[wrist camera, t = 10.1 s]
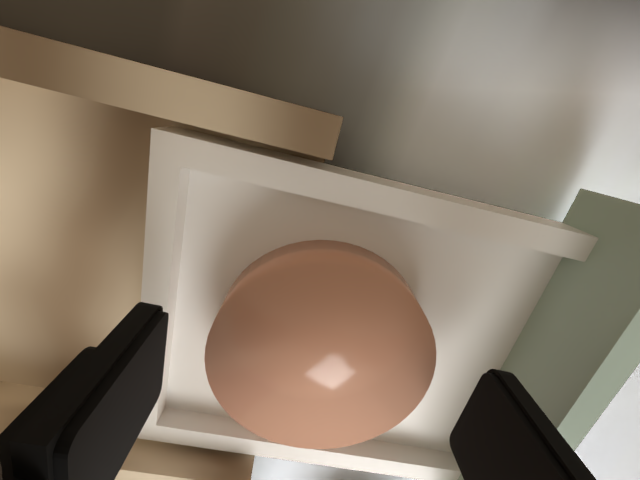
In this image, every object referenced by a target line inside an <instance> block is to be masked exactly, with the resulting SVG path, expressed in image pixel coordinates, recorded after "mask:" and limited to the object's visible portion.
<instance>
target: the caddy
mask: <svg viewBox="0 0 640 480" xmlns="http://www.w3.org/2000/svg"><path fill="white" fill-rule="evenodd" d="M342 121H343V117H341V116H337V115H334V114H330V113H326V112H322V111H319V110H315V109H311V108H307V107H304V106H300V105H296V104H292V103H289V102H285V101H281V100H277V99H274V98H270V97H266V96H262V95H259V94H255V93H251V92H247V91H243V90H240V89H236V88H232V87H228V86H225V85H221V84H217V83H213V82H210V81H206V80H202V79H198V78H195V77H191V76H187V75H183V74H180V73H176V72H172V71H168V70H165V69H161V68H157V67H153V66H149V65H146V64H142V63H138V62H134V61H131V60H127V59H123V58H119V57H116V56H112V55H108V54H104V53H101V52H97V51H93V50H89V49H86V48H82V47H78V46H74V45H71V44H67V43H63V42H59V41H55V40H52V39H48V38H44V37H40V36H37V35H33V34H29V33H25V32H22V31H18V30H14V29H10V28H7V27H3V26H0V434H1V433H2V432H3V431H4V430H5V429H6V428H7V427H8V426H9V424H10V423H11V422H12V421H13V420H14V419H15V418H16V417H17V416H18V415H19V414H20V413H21V412H22V411H23V410H24V409H25V408H26V407H27V406H28V405H29V404H30V403H31V402H32V401H33V400H34V399H35V398H36V397H37V396H38V395H39V394H40V393H41V392H42V391H43V390H44V389H45V388H46V387H47V386H48V385H49V384H50V383H51V382H52V381H53V380H54V379H55V378H56V377H57V375H58V374H59V373H60V372H61V371H62V370H63V369H64V368H65V367H66V366H67V365H68V364H69V363H70V362H71V361H72V360H73V359H74V358H75V357H76V356H77V355H78V354H79V353H80V352H81V351H82V350H84V349H85V348H87V347H89V346H91V347H97V346H98V345H99V344H100V343H101V342H102V341H103V340H104V339H105V338H106V337H107V335H108V334H109V333H110V332H111V331H112V330H113V329H114V328H115V327H116V326H117V325H118V324H119V323H120V321H121V320H122V319H123V318H124V317H125V316H126V315H127V314H128V313H129V312H130V311H131V310H132V309H133V308H134V306H135V305H136V304H137V303H139V302H141V289H142V272H143V256H144V239H145V223H146V206H147V189H148V173H149V156H150V140H151V128H156V127H169V126H176V127H180V128H184V129H188V130H192V131H196V132H200V133H204V134H208V135H212V136H216V137H220V138H224V139H228V140H233V141H237V142H241V143H245V144H249V145H253V146H257V147H261V148H265V149H269V150H273V151H277V152H281V153H285V154H289V155H293V156H297V157H301V158H305V159H309V160H313V161H317V162H321V163H324V161H325V159H328V160H333V156H334V152H335V148H336V144H337V140H338V137H339V133H340V129H341V125H342ZM254 456H255V455H248V454H241V453H235V452H228V451H221V450H214V449H207V448H200V447H194V446H187V445H180V444H173V443H166V442H160V441H153V440H146V439H139V438H137V439H136V441H135V443H134V445H133V446H132V448H131V450H130V452H129V454H128V456H127V458H126V459H125V461H124V463H123V465H122V467H121V469H120V470H119V472H118V474H117V476H116V478H115V480H251V474H252V468H253V462H254Z"/></svg>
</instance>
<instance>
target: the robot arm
mask: <svg viewBox="0 0 640 480" xmlns="http://www.w3.org/2000/svg"><path fill="white" fill-rule="evenodd" d="M168 319H169V314H168V313H167V312H163V307H162V306H160V305H155V304H149V303H144V302H139V303H137V304H136V305H135V306H134V308H133V309H132V310H131V311H130V312H129V313H128V314H127V315H126V316H125V317H124V318H123V319H122V320H121V321H120V323H119V324H118V325H117V326H116V327H115V328H114V329H113V330H112V331H111V332H110V333H109V334H108V335H107V337H106V338H105V339H104V340H103V341H102V342H101V343H100V344H99V345H98V346H97V347H91V346H89V347H87V348H85V349H84V350H82V351H81V352H80V353H79V354H78V355H77V356H76V357H75V358H74V359H73V360H72V361H71V362H70V363H69V364H68V365H67V366H66V367H65V368H64V369H63V370H62V371H61V372H60V373H59V374H58V375H57V377H56V378H55V379H54V380H53V381H52V382H51V383H50V384H49V385H48V386H47V387H46V388H45V389H44V390H43V391H42V392H41V393H40V394H39V395H38V396H37V397H36V398H35V399H34V400H33V401H32V402H31V403H30V404H29V405H28V406H27V407H26V408H25V409H24V410H23V411H22V412H21V413H20V414H19V415H18V416H17V417H16V418H15V419H14V420H13V421H12V422H11V423H10V424H9V426H8V427H7V428H6V429H5V430H4V431H3V432H2V433H1V434H0V480H115V478H116V476H117V474H118V472H119V470H120V469H121V467H122V465H123V463H124V461H125V459H126V458H127V456H128V454H129V452H130V450H131V448H132V446H133V445H134V443H135V441H136V439H137V437H138V435H139V434H140V432H141V430H142V428H143V426H144V424H145V423H146V421H147V419H148V417H149V415H150V413H151V411H152V410H153V408H154V406H155V404H156V402H157V400H158V398H159V396H160V393H161V389H162V381H163V371H164V360H165V350H166V340H167V329H168ZM449 442H450V447H451V450H452V452H453V455H454V457H455V460H456V462H457V464H458V467H459V469H460V472H461V474H462V476H463V479H464V480H596V479H595V477H594V476H593V475H592V474H591V472H590V471H589V470H588V468H587V467H586V466H585V465H584V463H583V462H582V461H581V459H580V458H579V457H578V456H577V454H576V453H575V452H574V450H573V449H572V448H571V447H570V445H569V444H568V443H567V442H566V440H565V439H564V438H563V436H562V435H561V434H560V433H559V431H558V430H557V429H556V427H555V426H554V425H553V424H552V422H551V421H550V420H549V418H548V417H547V416H546V415H545V413H544V412H543V411H542V409H541V408H540V407H539V406H538V404H537V403H536V402H535V401H534V399H533V398H532V397H531V395H530V394H529V393H528V392H527V390H526V389H525V388H524V386H523V385H522V384H521V383H520V381H519V380H518V379H517V377H516V376H515V375H514V374H513V373H511V372H507V371H502V370H497V369H490V370H488V371H487V373H484V374H483V375H482V376H481V378H480V380H479V381H478V383H477V385H476V387H475V389H474V391H473V393H472V395H471V396H470V398H469V400H468V402H467V404H466V406H465V408H464V410H463V411H462V413H461V415H460V417H459V419H458V421H457V423H456V424H455V426H454V428H453V430H452V432H451V434H450V439H449Z"/></svg>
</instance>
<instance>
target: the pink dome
mask: <svg viewBox="0 0 640 480" xmlns="http://www.w3.org/2000/svg"><path fill="white" fill-rule="evenodd" d="M204 361H205V371H206V375H207V379H208V382H209V385H210V387H211V390H212V392H213V394H214V396H215V397H216V399H217V401H218V402H219V404H220V405H221V406H222V407H223V409H224V410H225V411H226V412H227V413H228V414H229V415H230V416H231V417H232V418H233V419H234V420H235V421H236V422H237V423H239V424H240V425H242V426H243V427H244V428H246V429H247V430H249V431H251V432H252V433H254V434H256V435H258V436H260V437H262V438H265V439H267V440H269V441H272V442H275V443H279V444H282V445H286V446H291V447H296V448H305V449H331V448H340V447H346V446H351V445H354V444H358V443H362V442H365V441H367V440H370V439H372V438H375V437H377V436H379V435H381V434H383V433H385V432H387V431H388V430H390V429H392V428H393V427H395V426H396V425H398V424H399V423H400V422H401V421H403V420H404V419H405V418H406V417H407V416H408V415H409V414H410V413H411V412H412V411H413V410H414V409H415V408H416V407H417V406H418V404H419V403H420V402H421V400H422V399H423V398H424V396H425V394H426V392H427V390H428V389H429V386H430V384H431V381H432V379H433V376H434V371H435V367H436V343H435V338H434V335H433V331H432V328H431V326H430V324H429V322H428V319H427V317H426V315H425V314H424V312H423V310H422V308H421V306H420V305H419V303H418V301H417V299H416V298H415V296H414V294H413V292H412V290H411V289H410V287H409V285H408V284H407V282H406V281H405V279H404V278H403V276H402V275H401V274H400V273H399V272H398V271H397V270H396V269H395V268H394V267H393V266H392V265H391V264H390V263H388V262H387V261H386V260H385V259H383V258H382V257H380V256H378V255H377V254H375V253H373V252H371V251H369V250H367V249H365V248H362V247H360V246H356V245H353V244H350V243H346V242H340V241H333V240H310V241H302V242H297V243H292V244H288V245H285V246H282V247H280V248H277V249H275V250H273V251H271V252H268V253H266V254H264V255H263V256H261V257H260V258H258V259H257V260H255V261H254V262H252V263H251V264H250V265H249V266H248V267H247V268H246V269H245V270H244V271H243V272H242V273H241V274H240V275H239V276H238V277H237V279H236V280H235V281H234V283H233V284H232V286H231V288H230V289H229V291H228V293H227V295H226V297H225V299H224V301H223V303H222V305H221V308H220V310H219V312H218V314H217V316H216V318H215V320H214V322H213V324H212V327H211V329H210V332H209V334H208V338H207V342H206V346H205V358H204Z"/></svg>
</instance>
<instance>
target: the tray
mask: <svg viewBox="0 0 640 480" xmlns="http://www.w3.org/2000/svg"><path fill="white" fill-rule="evenodd" d="M310 240H333V241H340V242H346V243H350V244H353V245H356V246H360V247H362V248H365V249H367V250H369V251H371V252H373V253H375V254H377V255H378V256H380V257H382V258H383V259H385V260H386V261H387V262H388V263H390V264H391V265H392V266H393V267H394V268H395V269H396V270H397V271H398V272H399V273H400V274H401V275H402V276H403V278H404V279H405V281H406V282H407V284H408V285H409V287H410V289H411V290H412V292H413V294H414V296H415V298H416V299H417V301H418V303H419V305H420V306H421V308H422V310H423V312H424V314H425V315H426V317H427V319H428V322H429V324H430V326H431V328H432V331H433V335H434V338H435V343H436V367H435V371H434V376H433V379H432V381H431V384H430V386H429V389H428V390H427V392H426V394H425V396H424V398H423V399H422V400H421V402H420V403H419V404H418V406H417V407H416V408H415V409H414V410H413V411H412V412H411V413H410V414H409V415H408V416H407V417H406V418H405V419H404V420H403V421H401V422H400V423H399V424H398V425H396V426H395V427H393V428H392V429H390V430H388V431H387V432H385V433H383V434H381V435H379V436H377V437H375V438H372V439H370V440H367V441H365V442H362V443H358V444H354V445H351V446H346V447H340V448H331V449H305V448H296V447H291V446H286V445H282V444H279V443H275V442H272V441H269V440H267V439H265V438H262V437H260V436H258V435H256V434H254V433H252V432H251V431H249V430H247V429H246V428H244V427H243V426H242V425H240V424H239V423H237V422H236V421H235V420H234V419H233V418H232V417H231V416H230V415H229V414H228V413H227V412H226V411H225V410H224V409H223V407H222V406H221V405H220V404H219V402H218V401H217V399H216V397H215V396H214V394H213V392H212V390H211V387H210V385H209V382H208V379H207V375H206V371H205V361H204V358H205V346H206V342H207V338H208V334H209V332H210V329H211V327H212V324H213V322H214V320H215V318H216V316H217V314H218V312H219V310H220V308H221V305H222V303H223V301H224V299H225V297H226V295H227V293H228V291H229V289H230V288H231V286H232V284H233V283H234V281H235V280H236V279H237V277H238V276H239V275H240V274H241V273H242V272H243V271H244V270H245V269H246V268H247V267H248V266H249V265H250V264H251V263H252V262H254V261H255V260H257V259H258V258H260V257H261V256H263V255H264V254H266V253H268V252H271V251H273V250H275V249H277V248H280V247H282V246H285V245H288V244H292V243H297V242H302V241H310ZM141 302H144V303H149V304H155V305H160V306H162V307H163V312H167V313H168V314H169V319H168V329H167V340H166V350H165V360H164V371H163V381H162V389H161V393H160V396H159V398H158V400H157V402H156V404H155V406H154V408H153V410H152V411H151V413H150V415H149V417H148V419H147V421H146V423H145V424H144V426H143V428H142V430H141V432H140V434H139V435H138V437H137V438H139V439H146V440H153V441H160V442H166V443H173V444H180V445H187V446H194V447H200V448H207V449H214V450H221V451H228V452H235V453H241V454H248V455H255V456H262V457H269V458H276V459H282V460H289V461H296V462H303V463H310V464H316V465H323V466H330V467H337V468H344V469H351V470H357V471H364V472H371V473H378V474H385V475H391V476H398V477H405V478H412V479H419V480H464V479H463V476H462V474H461V472H460V469H459V467H458V464H457V462H456V460H455V457H454V455H453V452H452V450H451V447H450V442H449V439H450V434H451V432H452V430H453V428H454V426H455V424H456V423H457V421H458V419H459V417H460V415H461V413H462V411H463V410H464V408H465V406H466V404H467V402H468V400H469V398H470V396H471V395H472V393H473V391H474V389H475V387H476V385H477V383H478V381H479V380H480V378H481V376H482V375H483V374H484V373H487V371H488V370H490V369H497V370H502V371H507V372H511V373H513V374H514V375H515V376H516V377H517V379H518V380H519V381H520V383H521V384H522V385H523V386H524V388H525V389H526V390H527V392H528V393H529V394H530V395H531V397H532V398H533V399H534V401H535V402H536V403H537V404H538V406H539V407H540V408H541V409H542V411H543V412H544V413H545V415H546V416H547V417H548V418H549V420H550V421H551V422H552V424H553V425H554V426H555V427H556V429H557V430H558V431H559V433H560V434H561V435H562V436H563V438H564V439H565V440H566V442H567V443H568V444H569V445H570V447H571V448H572V449H573V450H574V451H575V450H576V448H577V447H578V445H579V444H580V443H581V441H582V440H583V439H584V437H585V436H586V435H587V433H588V432H589V431H590V429H591V428H592V427H593V425H594V424H595V422H596V421H597V420H598V418H599V417H600V416H601V414H602V413H603V412H604V410H605V409H606V408H607V406H608V405H609V404H610V402H611V401H612V399H613V398H614V397H615V395H616V394H617V393H618V391H619V390H620V389H621V387H622V386H623V385H624V383H625V382H626V381H627V379H628V378H629V377H630V375H631V374H632V372H633V371H634V370H635V368H636V367H637V366H638V364H639V363H640V204H637V203H633V202H630V201H626V200H622V199H619V198H615V197H611V196H608V195H604V194H600V193H596V192H592V191H589V190H585V189H580V190H579V192H578V194H577V196H576V198H575V200H574V202H573V204H572V205H571V207H570V209H569V211H568V213H567V215H566V217H565V219H564V220H563V222H558V221H554V220H550V219H546V218H542V217H538V216H534V215H530V214H526V213H522V212H518V211H514V210H510V209H506V208H502V207H498V206H494V205H490V204H486V203H482V202H478V201H474V200H470V199H466V198H462V197H458V196H454V195H450V194H446V193H442V192H438V191H434V190H430V189H426V188H422V187H418V186H414V185H409V184H405V183H401V182H397V181H393V180H389V179H385V178H381V177H377V176H373V175H369V174H365V173H361V172H357V171H353V170H349V169H345V168H341V167H337V166H333V165H329V164H325V163H321V162H317V161H313V160H309V159H305V158H301V157H297V156H293V155H289V154H285V153H281V152H277V151H273V150H269V149H265V148H261V147H257V146H253V145H249V144H245V143H241V142H237V141H233V140H228V139H224V138H220V137H216V136H212V135H208V134H204V133H200V132H196V131H192V130H188V129H184V128H180V127H176V126H169V127H156V128H151V140H150V156H149V173H148V189H147V206H146V223H145V239H144V256H143V272H142V289H141Z"/></svg>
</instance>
